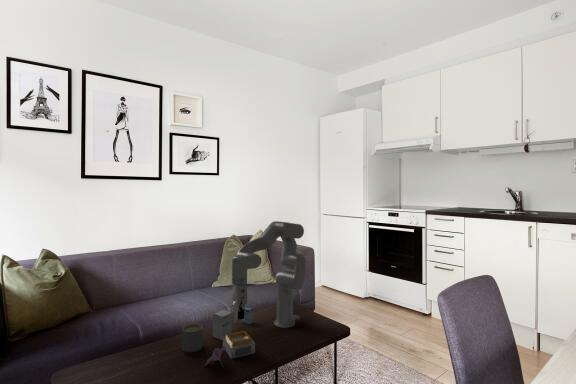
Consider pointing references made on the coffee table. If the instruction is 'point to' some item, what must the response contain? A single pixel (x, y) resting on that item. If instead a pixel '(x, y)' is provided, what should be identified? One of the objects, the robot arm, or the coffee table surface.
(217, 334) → the supplement box
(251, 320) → the medicine box
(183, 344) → the coffee mug
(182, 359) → the coffee table surface
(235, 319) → the spout can
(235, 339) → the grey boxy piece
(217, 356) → the lily
